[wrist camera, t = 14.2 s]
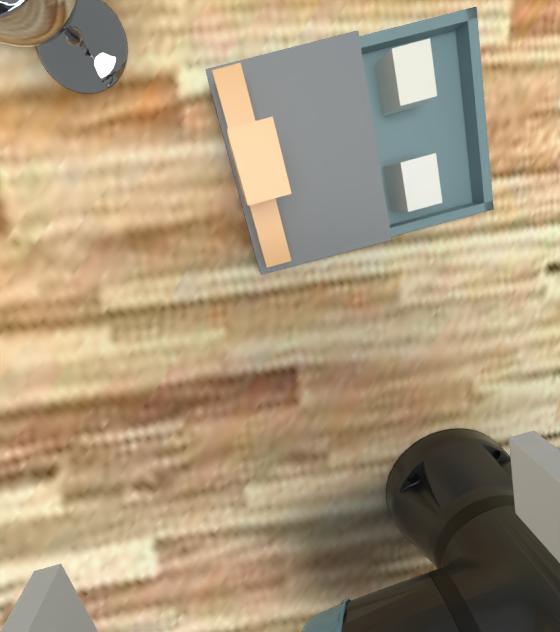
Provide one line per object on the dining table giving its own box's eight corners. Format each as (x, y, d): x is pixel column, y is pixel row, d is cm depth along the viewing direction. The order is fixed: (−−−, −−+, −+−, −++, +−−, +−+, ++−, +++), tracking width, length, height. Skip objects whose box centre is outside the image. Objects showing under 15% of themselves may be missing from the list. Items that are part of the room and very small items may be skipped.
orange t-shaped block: (289, 254, 34) (312, 279, 23) (261, 262, 34) (271, 290, 23) (243, 74, 30) (245, 6, 19) (211, 83, 30) (196, 19, 19)
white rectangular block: (382, 116, 35) (415, 107, 35) (400, 106, 31) (437, 96, 31) (374, 65, 34) (408, 56, 34) (391, 48, 30) (430, 38, 30)
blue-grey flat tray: (477, 208, 38) (493, 209, 36) (378, 235, 38) (388, 237, 36) (459, 20, 34) (476, 6, 31) (346, 49, 34) (355, 37, 31)
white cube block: (390, 210, 37) (421, 202, 37) (408, 211, 33) (442, 202, 33) (383, 166, 36) (415, 158, 36) (400, 162, 32) (435, 152, 32)
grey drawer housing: (377, 235, 38) (392, 239, 34) (258, 267, 38) (260, 275, 34) (344, 49, 34) (358, 30, 30) (209, 84, 33) (205, 69, 29)
